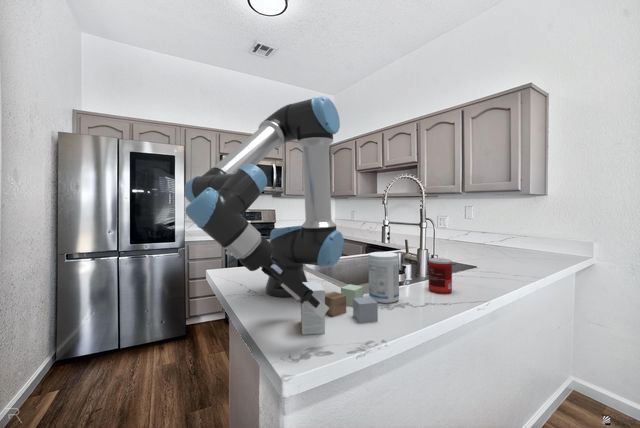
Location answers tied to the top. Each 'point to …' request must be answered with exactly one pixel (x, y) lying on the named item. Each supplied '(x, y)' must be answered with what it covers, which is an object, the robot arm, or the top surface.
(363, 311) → the slate grey block
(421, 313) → the top surface
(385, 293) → the supplement tub
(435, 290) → the canned food
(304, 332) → the small box
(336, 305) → the walnut block
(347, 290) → the sage green block
